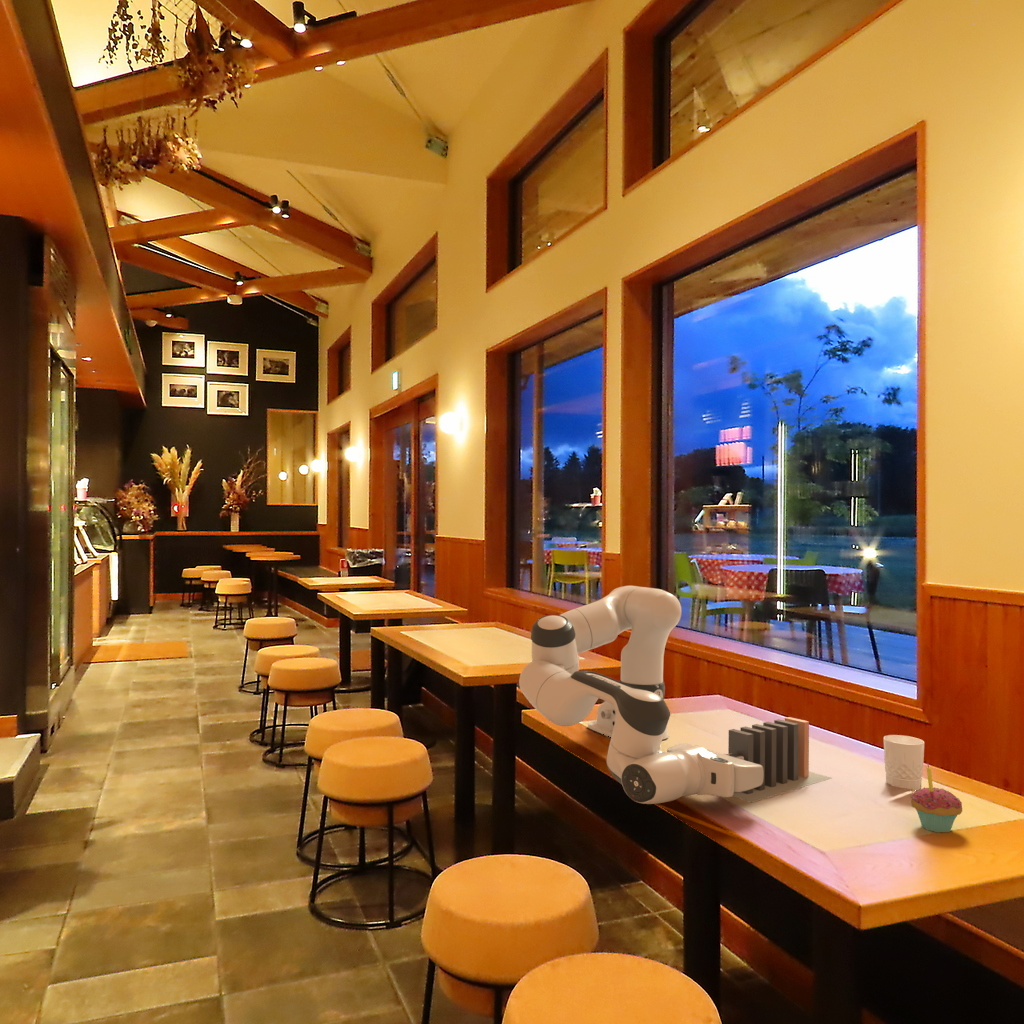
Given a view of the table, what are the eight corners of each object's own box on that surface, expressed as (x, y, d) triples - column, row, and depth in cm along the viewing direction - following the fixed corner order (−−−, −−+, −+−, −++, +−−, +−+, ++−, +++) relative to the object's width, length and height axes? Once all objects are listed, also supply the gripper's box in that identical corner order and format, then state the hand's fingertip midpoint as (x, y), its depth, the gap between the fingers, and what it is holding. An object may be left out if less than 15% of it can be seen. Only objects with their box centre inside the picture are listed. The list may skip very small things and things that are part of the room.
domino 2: (740, 784, 172) (740, 727, 172) (744, 783, 173) (745, 726, 173) (759, 790, 168) (760, 732, 168) (764, 789, 169) (765, 731, 169)
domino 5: (773, 775, 179) (774, 720, 179) (778, 773, 180) (778, 719, 180) (793, 780, 175) (794, 724, 175) (798, 779, 176) (798, 723, 176)
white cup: (929, 793, 169) (929, 745, 170) (888, 790, 171) (888, 743, 171) (918, 782, 177) (918, 736, 177) (879, 779, 179) (879, 733, 179)
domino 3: (751, 781, 174) (752, 725, 174) (756, 779, 175) (756, 724, 175) (771, 787, 170) (771, 729, 170) (776, 786, 171) (776, 728, 171)
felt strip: (703, 789, 170) (704, 786, 170) (784, 767, 187) (784, 764, 187) (751, 805, 161) (751, 802, 161) (832, 780, 177) (832, 777, 177)
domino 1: (728, 787, 170) (728, 729, 170) (733, 786, 171) (733, 728, 171) (748, 794, 166) (748, 735, 166) (752, 792, 167) (753, 733, 167)
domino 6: (784, 772, 181) (784, 717, 181) (788, 770, 182) (789, 717, 182) (804, 777, 177) (804, 722, 177) (808, 776, 178) (809, 721, 178)
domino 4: (762, 778, 177) (763, 722, 177) (767, 776, 178) (767, 721, 178) (782, 784, 173) (783, 727, 173) (787, 782, 174) (787, 726, 174)
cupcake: (939, 839, 144) (939, 771, 145) (899, 823, 152) (899, 758, 152) (972, 832, 148) (973, 766, 148) (932, 817, 156) (932, 754, 156)
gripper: (653, 772, 167) (698, 761, 175) (735, 800, 150) (780, 787, 159) (654, 741, 167) (698, 732, 175) (736, 766, 150) (780, 754, 159)
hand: (738, 758), depth 167 cm, fingers closed
